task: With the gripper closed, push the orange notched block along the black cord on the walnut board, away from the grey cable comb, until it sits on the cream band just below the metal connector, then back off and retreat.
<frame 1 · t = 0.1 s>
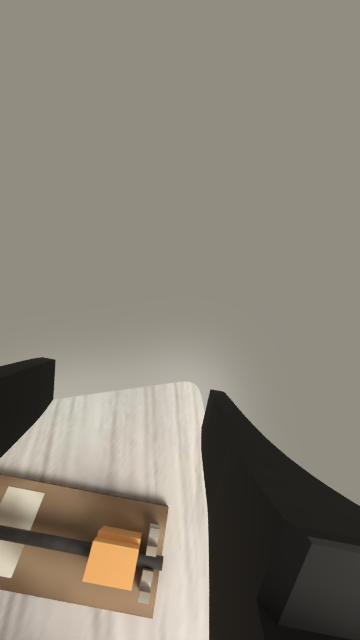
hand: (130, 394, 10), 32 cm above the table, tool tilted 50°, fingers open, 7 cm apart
orange notched block: (115, 556, 26), point 5 cm above the table, slide at 0.0 cm
cord board: (56, 534, 30), on the table
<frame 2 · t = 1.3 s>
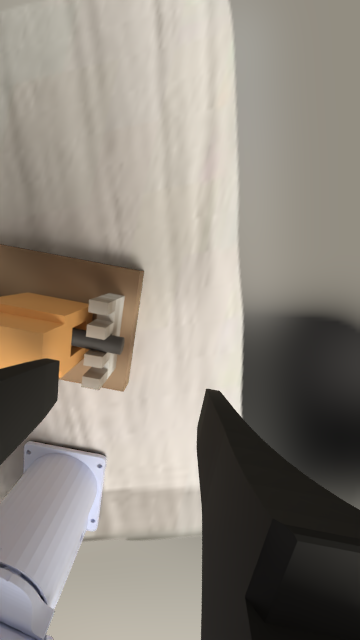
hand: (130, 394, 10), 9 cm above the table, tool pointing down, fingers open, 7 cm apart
orange notched block: (33, 335, 15), point 5 cm above the table, slide at 0.0 cm
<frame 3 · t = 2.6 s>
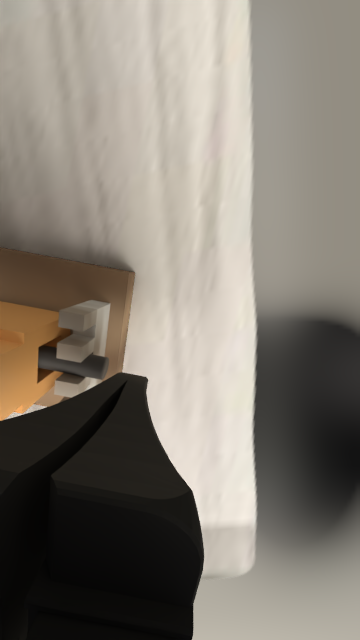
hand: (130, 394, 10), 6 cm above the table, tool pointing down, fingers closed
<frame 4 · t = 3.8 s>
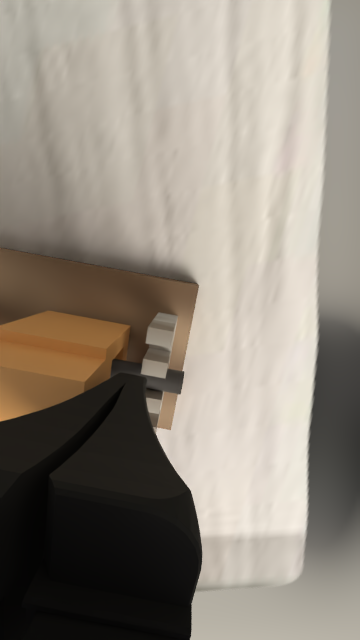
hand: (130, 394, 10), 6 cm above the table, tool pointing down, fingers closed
orange notched block: (60, 370, 11), point 5 cm above the table, slide at 0.6 cm, touching gripper
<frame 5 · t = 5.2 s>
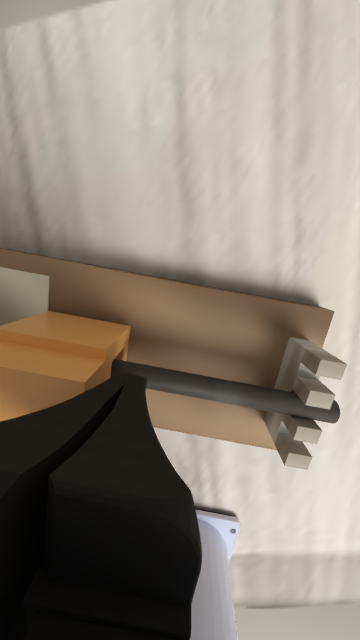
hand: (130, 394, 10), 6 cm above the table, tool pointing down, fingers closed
orange notched block: (60, 370, 11), point 5 cm above the table, slide at 8.7 cm, touching gripper
cord board: (101, 339, 16), on the table
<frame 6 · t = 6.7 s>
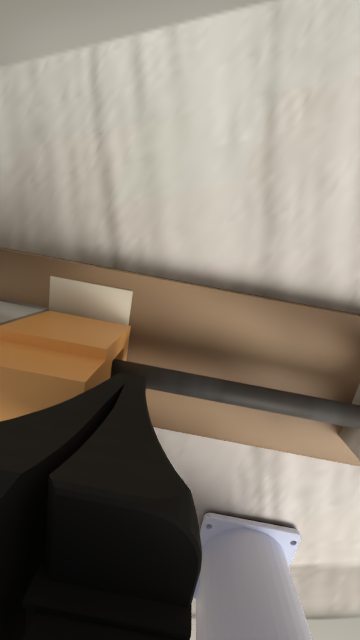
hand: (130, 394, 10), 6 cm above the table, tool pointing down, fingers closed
orange notched block: (60, 370, 11), point 5 cm above the table, slide at 13.7 cm, touching gripper
cord board: (172, 353, 16), on the table
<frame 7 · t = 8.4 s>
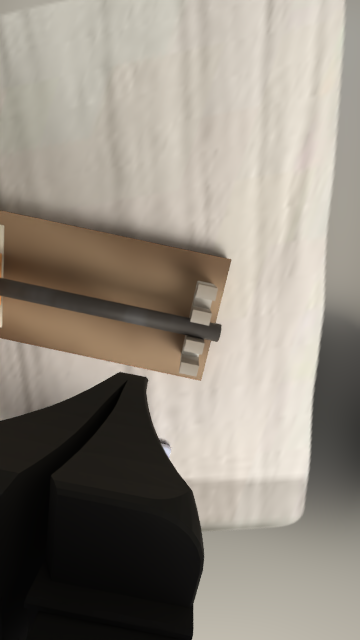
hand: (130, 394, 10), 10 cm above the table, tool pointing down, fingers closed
cord board: (51, 285, 20), on the table
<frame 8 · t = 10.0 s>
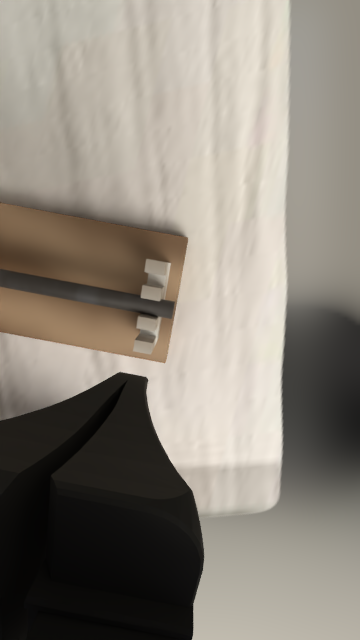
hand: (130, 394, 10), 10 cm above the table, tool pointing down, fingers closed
cord board: (14, 270, 19), on the table
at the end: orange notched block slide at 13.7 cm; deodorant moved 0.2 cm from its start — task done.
